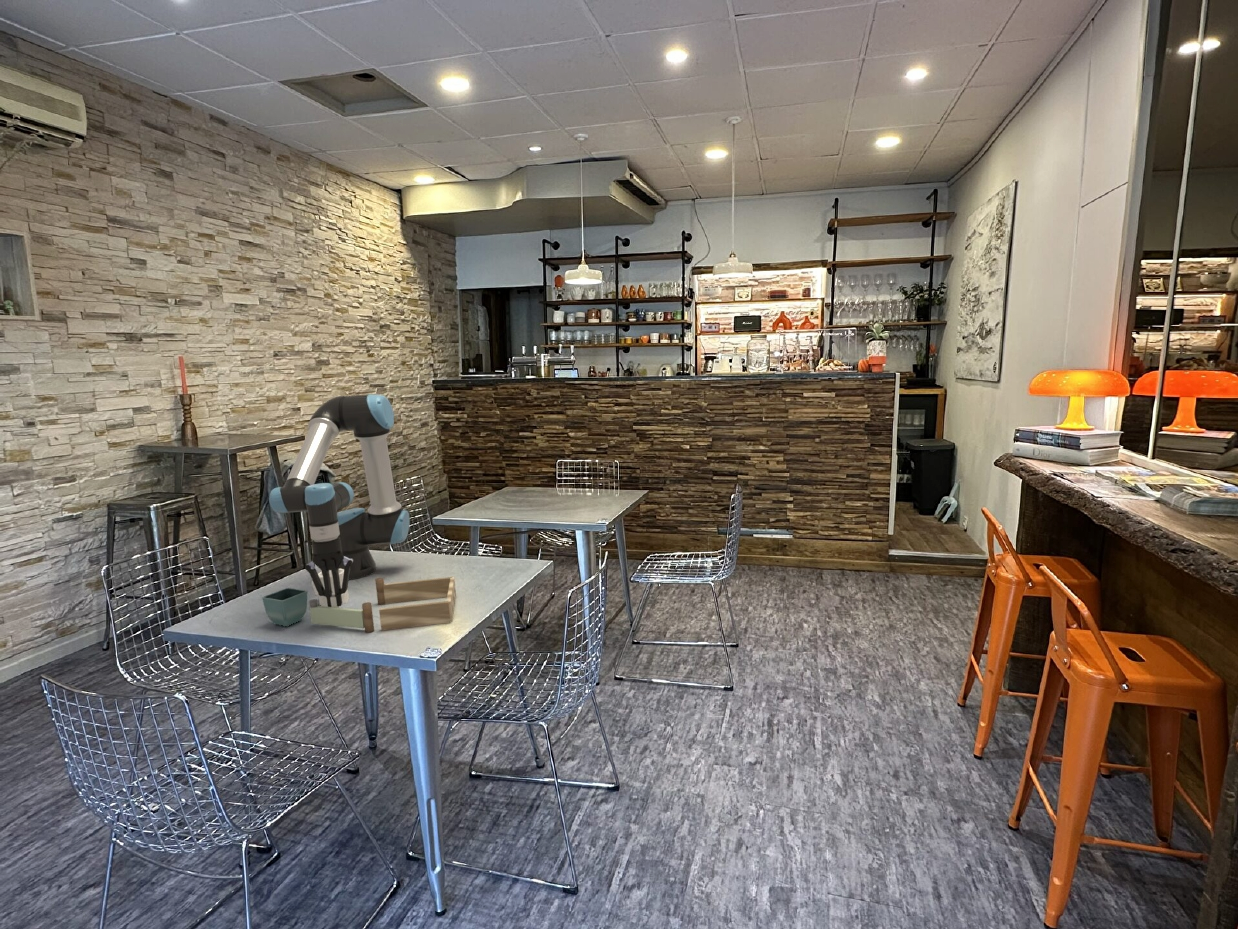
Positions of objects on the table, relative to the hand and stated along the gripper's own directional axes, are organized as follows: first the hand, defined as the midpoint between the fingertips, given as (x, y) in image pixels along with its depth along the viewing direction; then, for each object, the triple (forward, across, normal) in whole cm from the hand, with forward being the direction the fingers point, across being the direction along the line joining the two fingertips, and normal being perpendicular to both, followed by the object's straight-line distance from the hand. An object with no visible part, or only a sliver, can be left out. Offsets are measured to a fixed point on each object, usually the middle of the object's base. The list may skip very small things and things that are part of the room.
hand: (336, 616), depth 187 cm
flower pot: (+2, -15, +6) cm, 16 cm away
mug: (+3, -7, +21) cm, 22 cm away
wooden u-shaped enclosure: (+3, +21, +2) cm, 22 cm away
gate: (+1, +1, -3) cm, 4 cm away
